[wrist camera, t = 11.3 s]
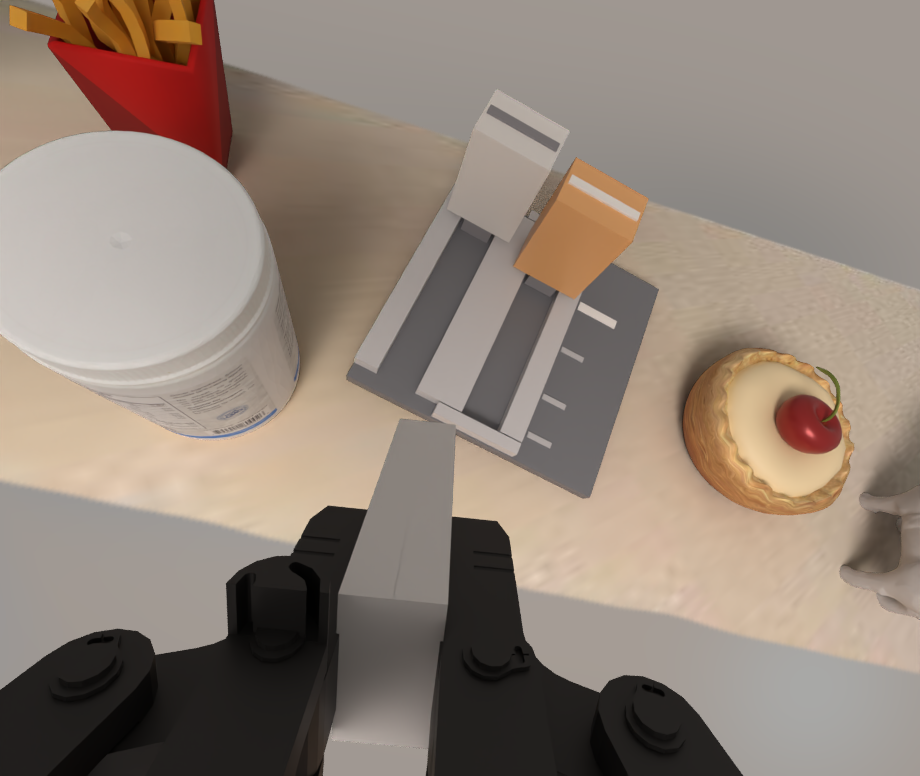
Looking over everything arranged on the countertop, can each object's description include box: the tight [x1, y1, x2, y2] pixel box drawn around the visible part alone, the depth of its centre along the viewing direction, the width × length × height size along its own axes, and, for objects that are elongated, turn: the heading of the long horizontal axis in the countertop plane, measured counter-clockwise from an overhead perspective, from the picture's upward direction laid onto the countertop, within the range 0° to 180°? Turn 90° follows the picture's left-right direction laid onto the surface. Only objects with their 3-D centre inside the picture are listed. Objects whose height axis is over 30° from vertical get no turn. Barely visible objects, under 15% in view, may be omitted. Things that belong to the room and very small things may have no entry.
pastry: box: [683, 348, 854, 515], centre depth 33 cm, size 12×12×9 cm
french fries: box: [10, 0, 233, 169], centre depth 27 cm, size 9×8×15 cm
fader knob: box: [513, 157, 648, 299], centre depth 32 cm, size 5×4×9 cm
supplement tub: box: [0, 131, 300, 440], centre depth 23 cm, size 10×10×15 cm
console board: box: [347, 89, 659, 498], centre depth 31 cm, size 18×18×10 cm
